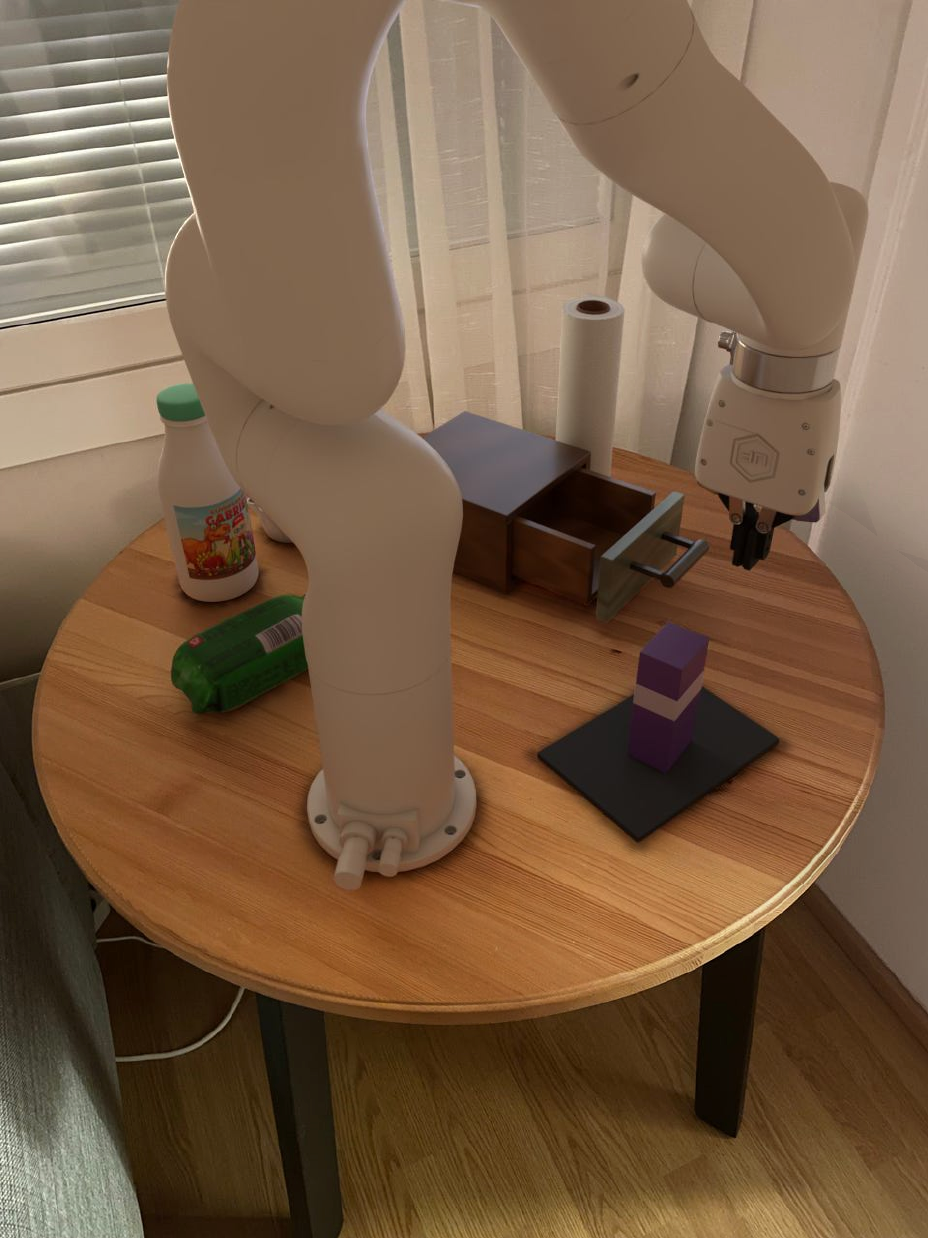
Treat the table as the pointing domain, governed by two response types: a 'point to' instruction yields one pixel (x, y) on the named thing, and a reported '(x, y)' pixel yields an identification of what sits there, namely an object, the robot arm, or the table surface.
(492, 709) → the table surface
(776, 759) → the table surface
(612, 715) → the mat
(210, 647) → the snack package
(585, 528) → the drawer
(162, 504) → the milk bottle
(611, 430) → the paper towel roll
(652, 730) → the snack carton
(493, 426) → the cabinet
